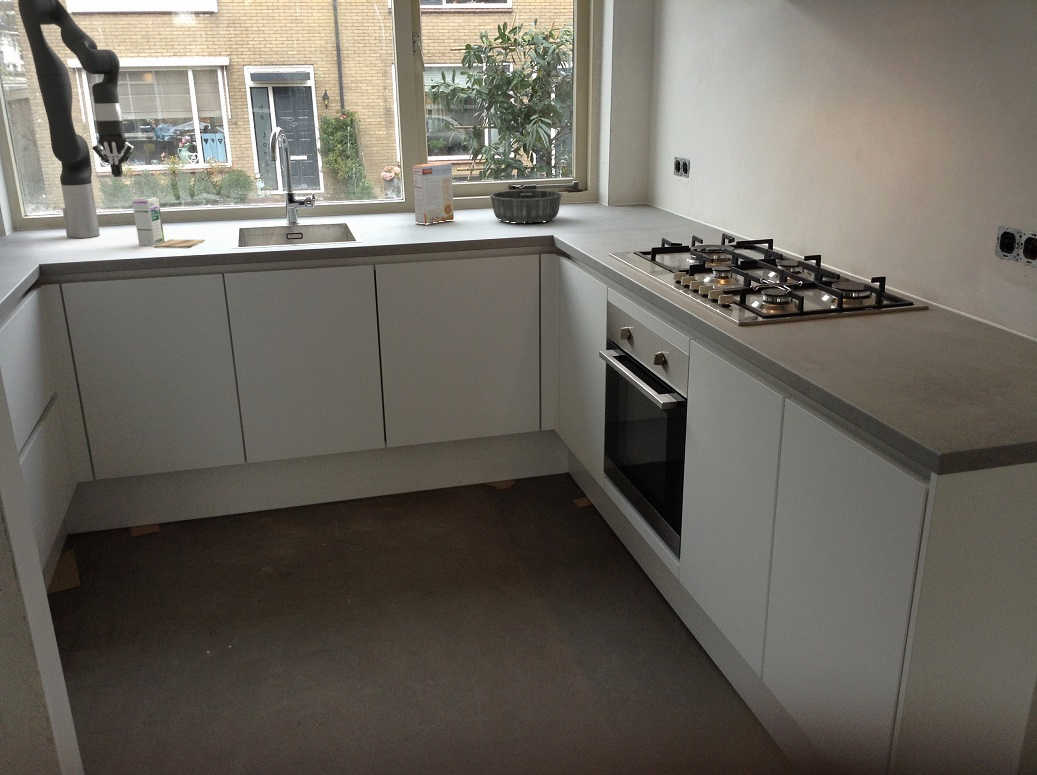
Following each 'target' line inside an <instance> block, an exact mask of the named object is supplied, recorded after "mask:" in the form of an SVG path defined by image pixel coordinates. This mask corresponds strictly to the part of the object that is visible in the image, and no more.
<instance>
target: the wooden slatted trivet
mask: <svg viewBox="0 0 1037 775" xmlns="http://www.w3.org/2000/svg"><path fill="white" fill-rule="evenodd" d="M203 241H205V242H206V240H205V239H173V238H172V239H171V238H170V239H168V240H166V241H165V242H163V243H160V244H157V245H155V246H153V248H154V247H190V248H192V247H191V246H193V245H195V246H197V245H199V244H198V243H200V244H201V242H202V243H204V242H203ZM196 244H197V245H196ZM193 247H194V246H193Z"/></svg>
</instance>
